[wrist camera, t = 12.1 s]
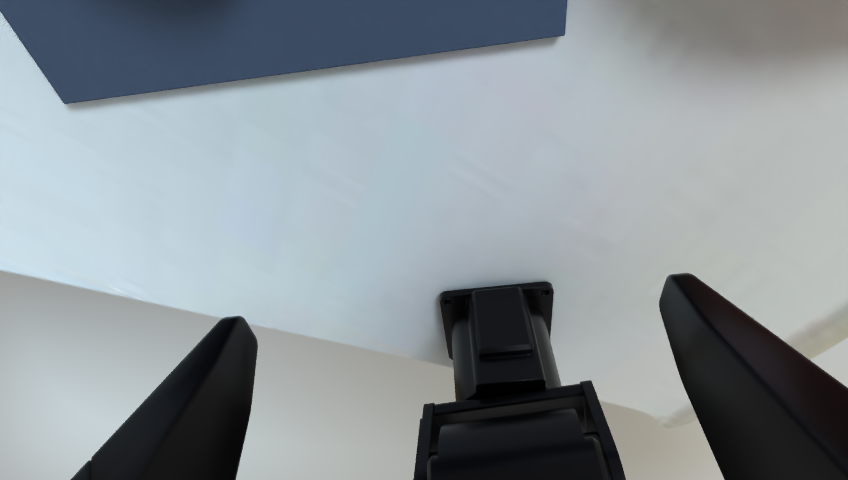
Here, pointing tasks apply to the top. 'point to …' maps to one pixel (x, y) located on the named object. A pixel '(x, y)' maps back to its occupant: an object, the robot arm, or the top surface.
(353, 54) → the mouse mat
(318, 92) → the top surface
